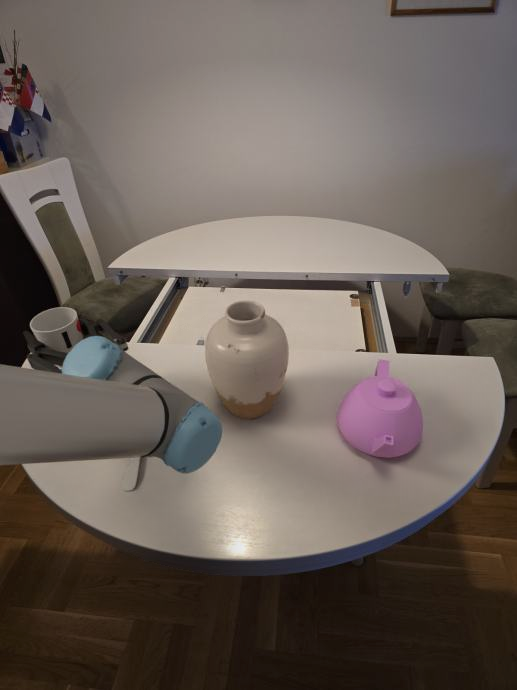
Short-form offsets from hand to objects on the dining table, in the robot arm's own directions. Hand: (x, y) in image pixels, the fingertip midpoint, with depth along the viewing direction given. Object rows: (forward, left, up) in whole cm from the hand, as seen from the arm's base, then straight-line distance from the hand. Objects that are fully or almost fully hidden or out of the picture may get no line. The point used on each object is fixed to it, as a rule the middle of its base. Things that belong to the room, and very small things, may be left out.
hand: (48, 327), depth 79 cm
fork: (+5, -24, -17) cm, 29 cm away
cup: (+1, -5, -6) cm, 8 cm away
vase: (+27, -29, -17) cm, 43 cm away
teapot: (+41, -51, -17) cm, 67 cm away
